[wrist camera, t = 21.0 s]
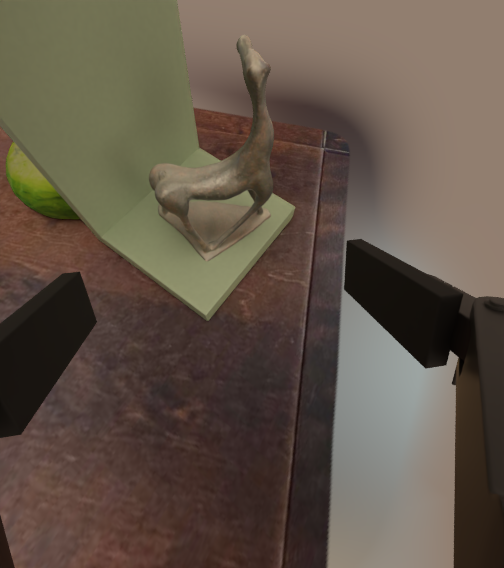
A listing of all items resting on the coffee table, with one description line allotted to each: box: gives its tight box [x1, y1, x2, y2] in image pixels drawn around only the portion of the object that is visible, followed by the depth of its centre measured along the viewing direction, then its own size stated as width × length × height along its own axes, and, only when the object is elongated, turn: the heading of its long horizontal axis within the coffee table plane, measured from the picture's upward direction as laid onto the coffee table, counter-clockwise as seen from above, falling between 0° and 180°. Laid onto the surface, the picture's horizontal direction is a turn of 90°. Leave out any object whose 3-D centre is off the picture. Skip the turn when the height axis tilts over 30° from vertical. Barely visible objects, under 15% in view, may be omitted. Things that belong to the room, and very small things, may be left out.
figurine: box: [149, 35, 274, 261], centre depth 21 cm, size 11×6×15 cm, turn 84°
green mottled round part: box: [6, 142, 80, 219], centre depth 29 cm, size 12×11×5 cm
